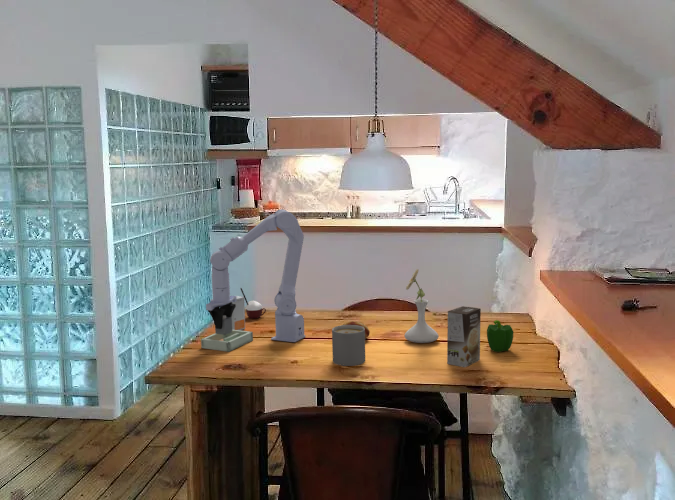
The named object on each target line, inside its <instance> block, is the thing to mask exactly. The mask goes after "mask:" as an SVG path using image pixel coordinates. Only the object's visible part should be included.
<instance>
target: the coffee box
mask: <svg viewBox="0 0 675 500" xmlns="http://www.w3.org/2000/svg"><path fill="white" fill-rule="evenodd" d="M481 312H482V311H481V308H479V307H472V306H464V305H463V306H462V305H461V306H460V307H456V308H454V309H450V310H448V311H447V334H446V335H447V341H446V342H447V345H446V346H447V348H446V349H447V353H446V364H448V365H451V366H456V367H461V368H468V367H469V366H471V365H473V364H475V363H477V362H479V361H480V360H481V317H482V316H481V315H482V314H481Z"/></svg>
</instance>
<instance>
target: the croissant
mask: <svg viewBox="0 0 675 500" xmlns="http://www.w3.org/2000/svg"><path fill="white" fill-rule="evenodd" d="M342 325H358V326H362V327H364V328H365V340H366V339H367V338H369V336H370V333H371V332H370V329H369V328H368V326H367V325H365V324H364V323H362V322H360V321H357V320H354V321H353V320H352V321H348V322H345V323H343V324H342Z"/></svg>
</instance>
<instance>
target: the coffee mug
mask: <svg viewBox="0 0 675 500" xmlns="http://www.w3.org/2000/svg"><path fill="white" fill-rule="evenodd" d="M331 343H332V350H331V351H332V363H333V364H334V365H337V366H343V367H345V366H346V367H353V366H360V365H362V364H364V363H365V362H366V339H365V328H364V327H362V326H358V325H343V324H341V325H337V326H334V327H332V328H331Z"/></svg>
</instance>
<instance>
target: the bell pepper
mask: <svg viewBox="0 0 675 500" xmlns="http://www.w3.org/2000/svg"><path fill="white" fill-rule="evenodd" d="M486 337H487V343H488V347H489V349H490V350H491V351H493V352H494V353H495V352H496V353H502V352H508V351H509V350H510V349H511V347H512V344H513V340H514V330H513V327H512V326H511V325H510V324H504V325H503V324H501V321H500V320H498V319H496V320H494V321H493V323H491V324H488V326H487V328H486Z"/></svg>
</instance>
